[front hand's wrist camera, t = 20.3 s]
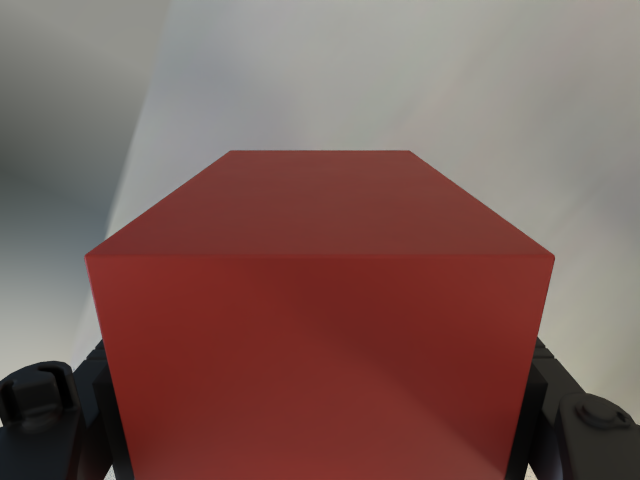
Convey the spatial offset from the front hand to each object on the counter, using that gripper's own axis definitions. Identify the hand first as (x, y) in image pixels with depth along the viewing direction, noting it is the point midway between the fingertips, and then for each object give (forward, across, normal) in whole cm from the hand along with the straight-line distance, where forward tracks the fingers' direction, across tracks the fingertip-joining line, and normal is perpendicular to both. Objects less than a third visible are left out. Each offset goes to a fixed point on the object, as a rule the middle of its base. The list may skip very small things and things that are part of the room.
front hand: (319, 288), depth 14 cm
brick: (+4, 0, 0) cm, 4 cm away
